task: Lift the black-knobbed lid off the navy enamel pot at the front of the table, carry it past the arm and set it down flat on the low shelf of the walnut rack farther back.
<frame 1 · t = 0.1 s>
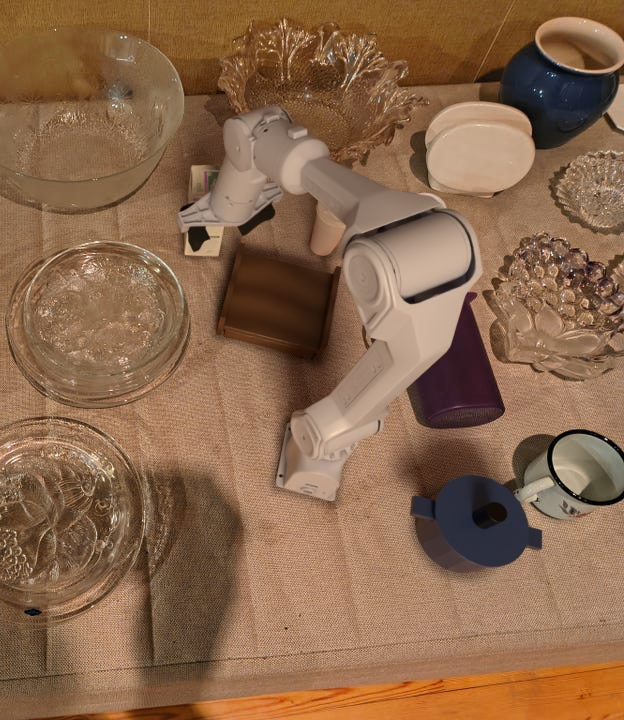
hand: (217, 237, 94), 11 cm above the table, tool pointing down, fingers open, 7 cm apart
rack: (275, 309, 102), on the table
syrup box: (200, 243, 107), on the table
pot: (454, 532, 87), on the table
smoothie: (321, 247, 108), on the table
lid: (480, 520, 81), point 7 cm above the table, touching pot
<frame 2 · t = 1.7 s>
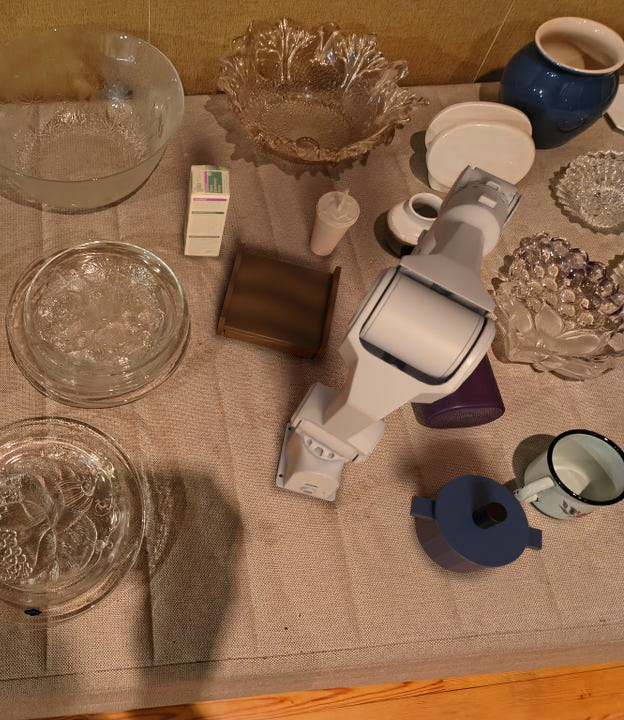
hand: (399, 314, 90), 10 cm above the table, tool pointing down, fingers open, 7 cm apart
nothing on the table moved.
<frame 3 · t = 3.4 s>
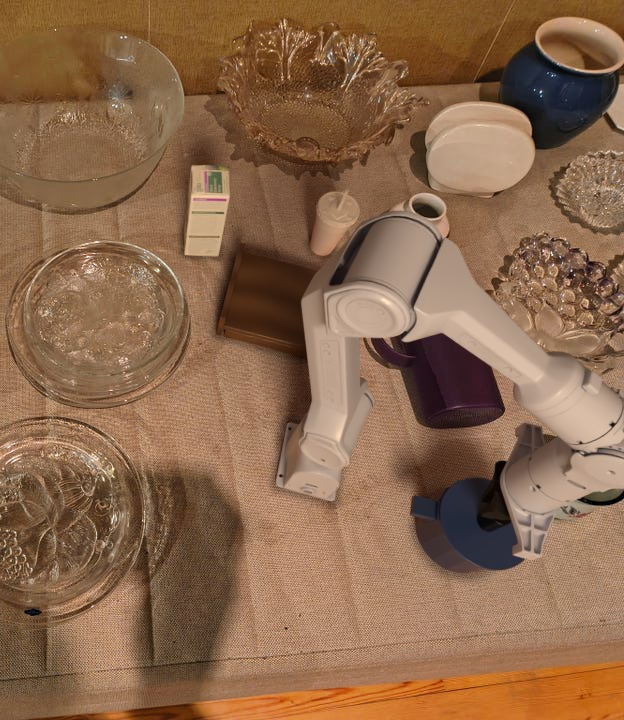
hand: (489, 508, 78), 11 cm above the table, tool pointing down, fingers closed on lid
lid: (484, 523, 80), point 7 cm above the table, touching gripper, pot
everything else where it was.
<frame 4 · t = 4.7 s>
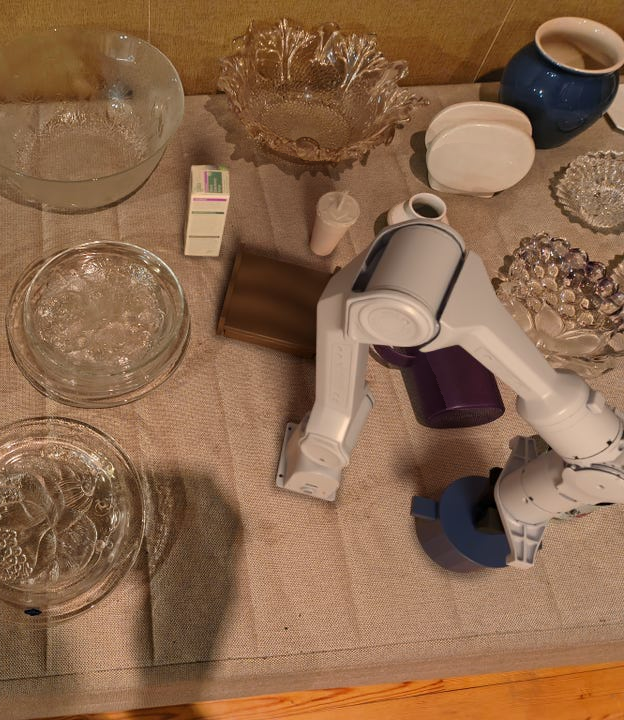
hand: (484, 518, 80), 8 cm above the table, tool pointing down, fingers closed on lid, 2 cm apart
lid: (483, 521, 81), point 7 cm above the table, touching gripper, pot
everything else where it was.
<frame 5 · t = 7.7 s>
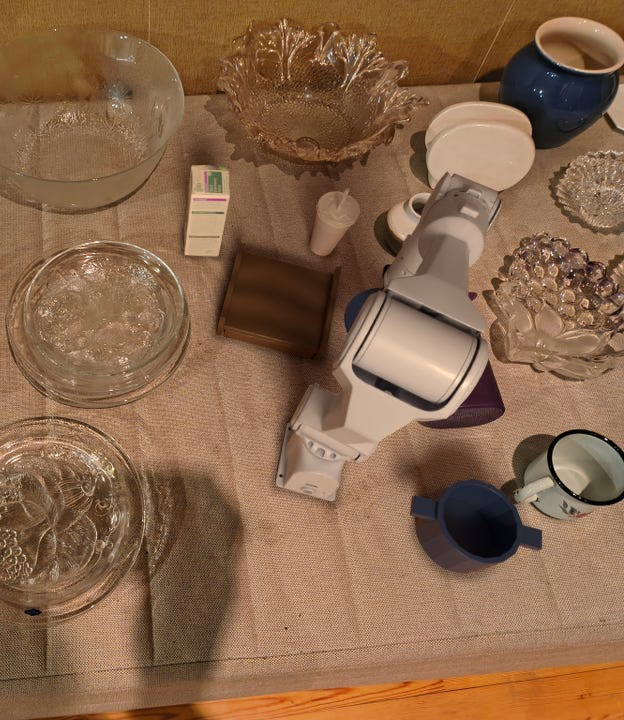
hand: (383, 319, 89), 10 cm above the table, tool pointing down, fingers closed on lid, 2 cm apart
lid: (385, 324, 90), point 9 cm above the table, touching gripper
everything else where it was.
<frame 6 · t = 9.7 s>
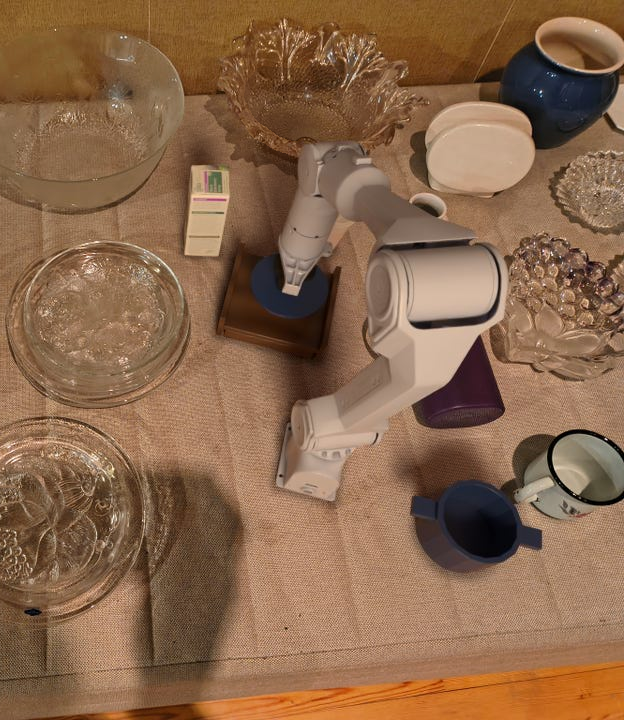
hand: (286, 281, 95), 8 cm above the table, tool pointing down, fingers closed on lid, 2 cm apart
lid: (288, 285, 96), point 7 cm above the table, touching gripper
everything else where it was.
when the fingers open (5 cm above the table, at t = 10.9 s): lid stays where it is, resting on rack.
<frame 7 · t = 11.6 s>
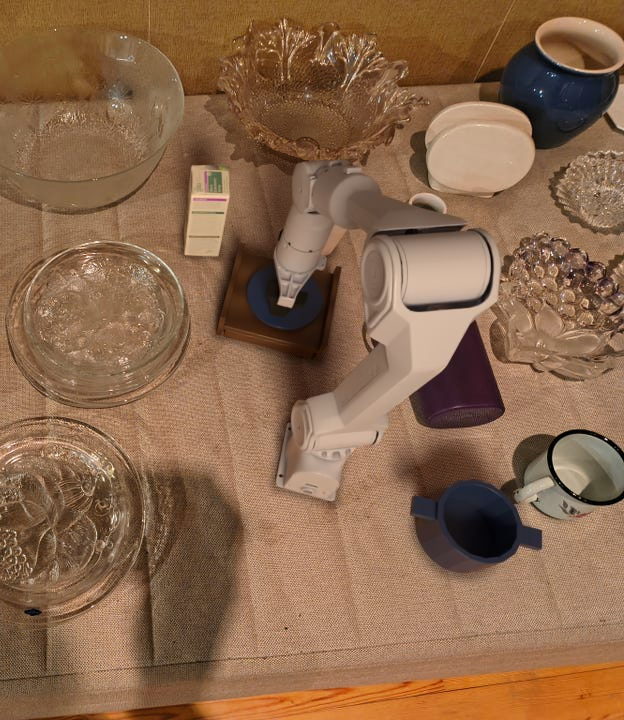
hand: (282, 292, 97), 5 cm above the table, tool pointing down, fingers open, 7 cm apart
lid: (284, 297, 98), point 4 cm above the table, touching rack
everything else where it was.
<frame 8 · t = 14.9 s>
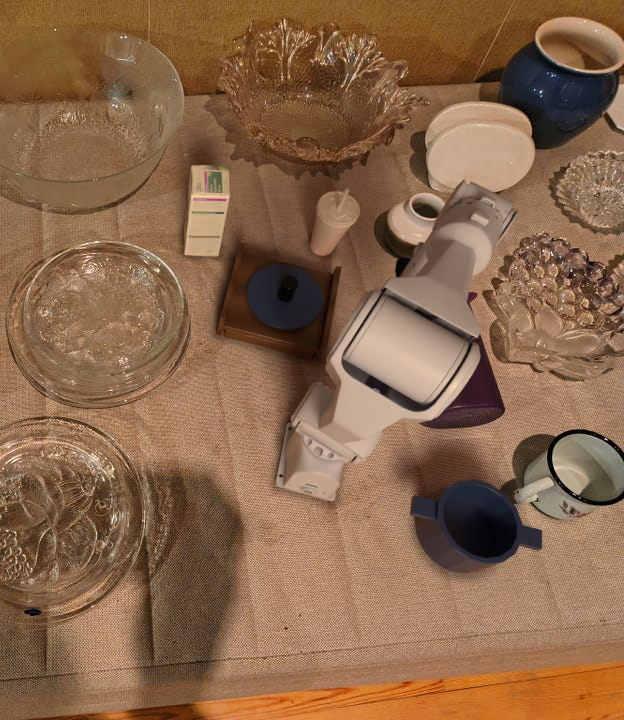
hand: (394, 327, 89), 10 cm above the table, tool pointing down, fingers open, 7 cm apart
nothing on the table moved.
at the end: lid 0.5 cm off-centre on the rack, point 3.6 cm above the rack's base; lid tilted 0°; the gripper is holding nothing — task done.
